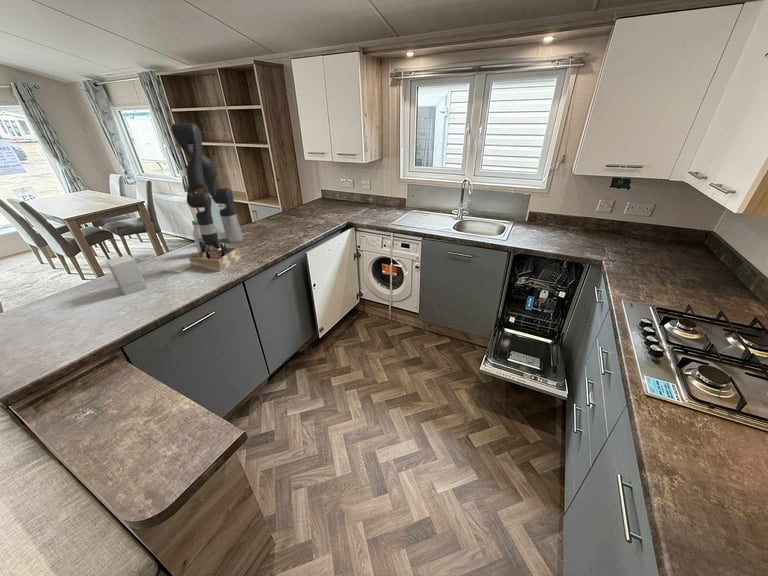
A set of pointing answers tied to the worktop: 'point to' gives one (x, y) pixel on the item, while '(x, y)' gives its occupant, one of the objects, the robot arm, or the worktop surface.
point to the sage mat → (177, 267)
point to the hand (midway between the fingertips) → (216, 259)
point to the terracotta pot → (213, 253)
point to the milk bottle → (197, 234)
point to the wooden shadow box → (204, 263)
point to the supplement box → (126, 274)
